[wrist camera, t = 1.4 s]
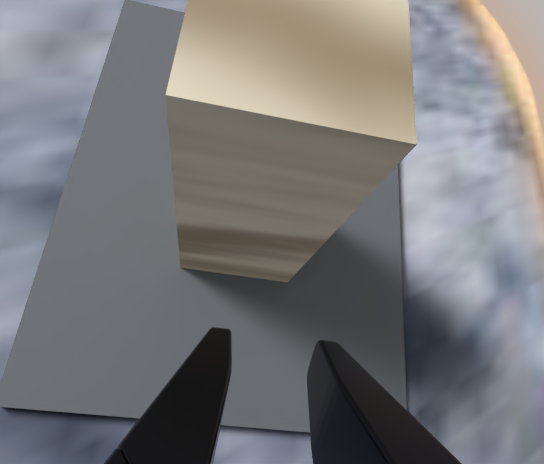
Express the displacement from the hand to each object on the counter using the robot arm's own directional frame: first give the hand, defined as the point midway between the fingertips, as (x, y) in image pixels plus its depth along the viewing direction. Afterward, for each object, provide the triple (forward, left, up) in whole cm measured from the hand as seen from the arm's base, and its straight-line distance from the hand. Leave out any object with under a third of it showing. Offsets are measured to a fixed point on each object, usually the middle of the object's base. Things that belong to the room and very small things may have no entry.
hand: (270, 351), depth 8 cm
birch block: (+7, +2, -13) cm, 15 cm away
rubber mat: (+10, +3, -14) cm, 17 cm away
